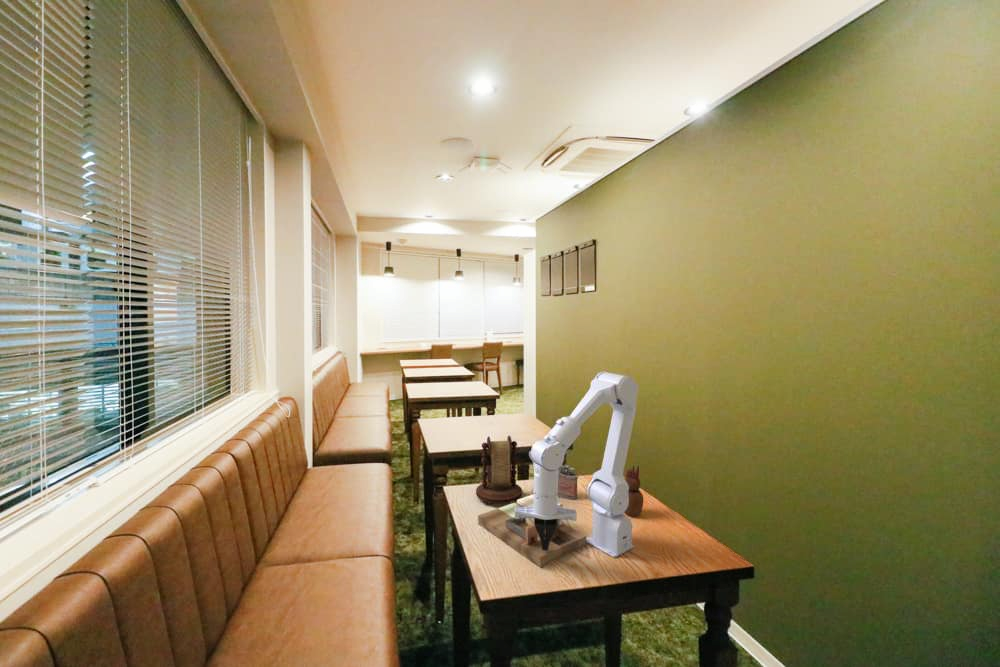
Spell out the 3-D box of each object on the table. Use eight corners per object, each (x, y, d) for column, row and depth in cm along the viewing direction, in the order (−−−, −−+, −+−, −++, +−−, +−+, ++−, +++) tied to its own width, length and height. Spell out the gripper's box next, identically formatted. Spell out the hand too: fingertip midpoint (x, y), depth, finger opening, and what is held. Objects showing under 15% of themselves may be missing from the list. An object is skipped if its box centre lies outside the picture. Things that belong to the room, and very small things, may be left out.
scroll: (479, 510, 127) (480, 444, 126) (473, 489, 142) (473, 430, 141) (527, 506, 130) (528, 442, 129) (516, 486, 145) (516, 428, 144)
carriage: (561, 530, 111) (561, 515, 111) (527, 544, 104) (528, 528, 104) (534, 514, 119) (535, 501, 119) (502, 527, 112) (502, 512, 112)
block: (546, 524, 114) (546, 509, 114) (535, 528, 112) (535, 513, 112) (536, 518, 118) (536, 504, 117) (525, 522, 115) (525, 508, 115)
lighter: (579, 497, 137) (579, 466, 136) (575, 501, 134) (575, 470, 134) (556, 491, 141) (556, 461, 141) (551, 495, 138) (552, 465, 138)
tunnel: (586, 545, 109) (586, 514, 108) (540, 567, 99) (540, 534, 98) (521, 508, 129) (521, 482, 128) (478, 523, 119) (478, 495, 119)
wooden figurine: (646, 517, 124) (648, 466, 123) (630, 520, 122) (632, 469, 121) (631, 507, 130) (632, 459, 129) (616, 510, 128) (617, 461, 127)
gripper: (574, 486, 104) (573, 540, 105) (515, 484, 105) (514, 537, 106) (578, 498, 97) (577, 556, 98) (514, 496, 98) (514, 553, 99)
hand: (544, 548), depth 101 cm, fingers closed
